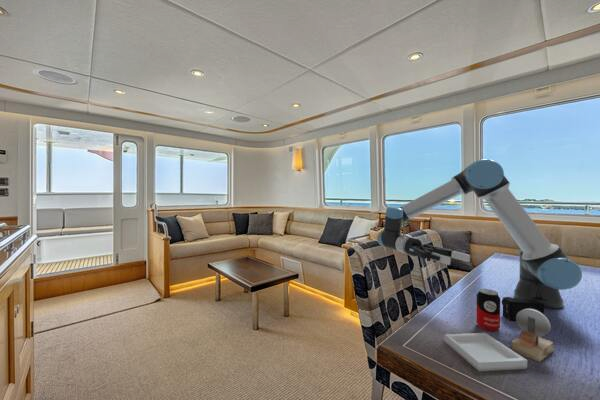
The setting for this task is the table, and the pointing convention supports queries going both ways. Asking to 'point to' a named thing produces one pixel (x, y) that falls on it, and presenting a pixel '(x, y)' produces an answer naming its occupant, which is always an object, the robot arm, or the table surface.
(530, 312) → the pulley stand
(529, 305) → the digital camera
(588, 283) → the table surface
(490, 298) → the beverage can
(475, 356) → the tray
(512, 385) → the table surface
